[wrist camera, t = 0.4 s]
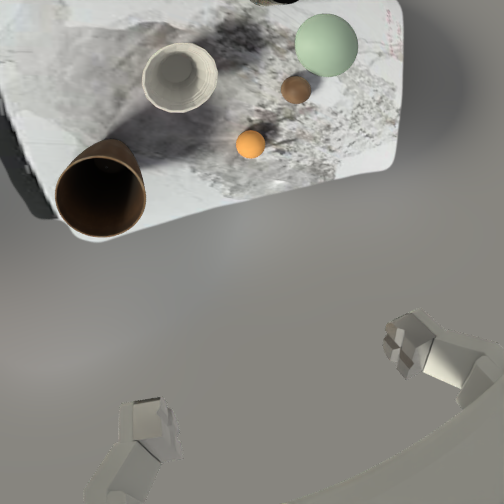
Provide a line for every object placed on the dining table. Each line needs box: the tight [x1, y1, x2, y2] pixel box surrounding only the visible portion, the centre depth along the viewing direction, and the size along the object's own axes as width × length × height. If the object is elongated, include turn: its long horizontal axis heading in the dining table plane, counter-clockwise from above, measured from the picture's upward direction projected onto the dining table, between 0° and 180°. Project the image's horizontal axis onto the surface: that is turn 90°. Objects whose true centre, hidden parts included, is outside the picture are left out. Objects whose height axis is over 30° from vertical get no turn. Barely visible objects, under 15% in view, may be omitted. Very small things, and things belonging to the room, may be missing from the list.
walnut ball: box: [281, 76, 311, 104], centre depth 49 cm, size 6×6×6 cm
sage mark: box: [295, 14, 358, 77], centre depth 46 cm, size 14×14×1 cm
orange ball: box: [236, 130, 265, 158], centre depth 55 cm, size 6×6×6 cm
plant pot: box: [55, 139, 146, 237], centre depth 46 cm, size 15×15×16 cm
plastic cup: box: [142, 43, 218, 113], centre depth 39 cm, size 11×11×12 cm
